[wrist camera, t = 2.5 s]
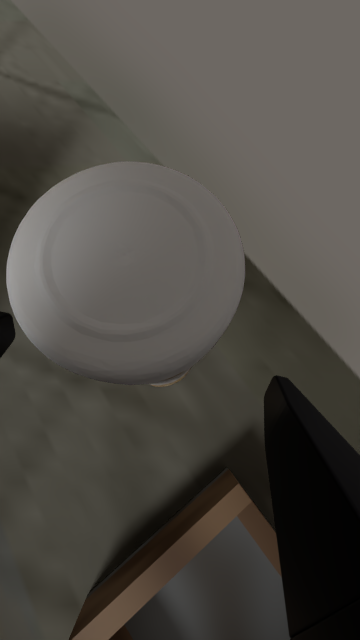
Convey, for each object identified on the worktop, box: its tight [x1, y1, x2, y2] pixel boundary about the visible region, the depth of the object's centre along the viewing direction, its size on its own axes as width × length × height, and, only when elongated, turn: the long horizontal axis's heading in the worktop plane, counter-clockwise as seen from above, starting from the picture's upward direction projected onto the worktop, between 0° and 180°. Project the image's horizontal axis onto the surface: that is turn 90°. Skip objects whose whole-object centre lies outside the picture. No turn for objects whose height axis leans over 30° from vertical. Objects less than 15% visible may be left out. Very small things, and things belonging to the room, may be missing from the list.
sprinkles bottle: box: [6, 162, 245, 387], centre depth 11 cm, size 5×5×14 cm
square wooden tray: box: [69, 467, 291, 640], centre depth 13 cm, size 10×10×3 cm
